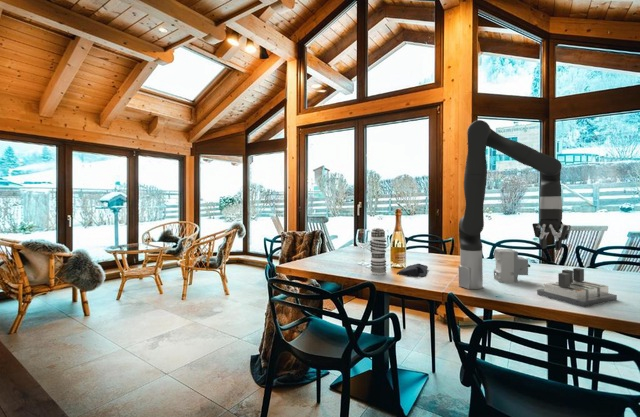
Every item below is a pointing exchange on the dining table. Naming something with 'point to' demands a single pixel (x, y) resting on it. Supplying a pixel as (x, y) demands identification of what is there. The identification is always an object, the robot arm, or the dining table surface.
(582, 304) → the breaker panel
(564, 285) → the block
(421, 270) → the dark slate chunk
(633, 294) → the dining table surface
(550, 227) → the robot arm
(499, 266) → the circuit breaker
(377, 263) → the grey ringed tower
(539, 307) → the dining table surface
